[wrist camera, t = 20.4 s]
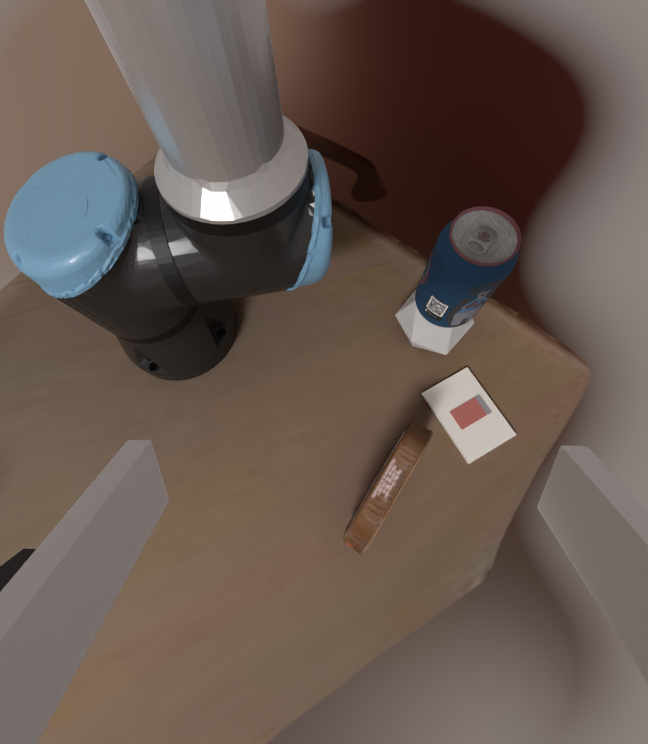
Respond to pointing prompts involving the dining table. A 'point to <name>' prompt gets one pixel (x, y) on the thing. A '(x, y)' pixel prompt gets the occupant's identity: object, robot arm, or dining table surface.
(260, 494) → the dining table surface
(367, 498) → the tin
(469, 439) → the card
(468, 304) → the soda can
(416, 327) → the die
